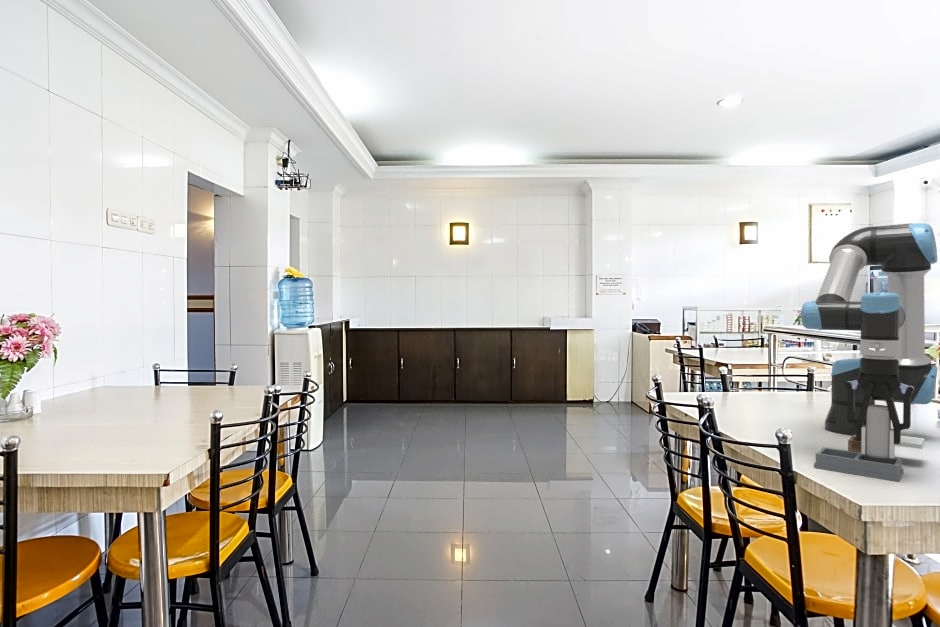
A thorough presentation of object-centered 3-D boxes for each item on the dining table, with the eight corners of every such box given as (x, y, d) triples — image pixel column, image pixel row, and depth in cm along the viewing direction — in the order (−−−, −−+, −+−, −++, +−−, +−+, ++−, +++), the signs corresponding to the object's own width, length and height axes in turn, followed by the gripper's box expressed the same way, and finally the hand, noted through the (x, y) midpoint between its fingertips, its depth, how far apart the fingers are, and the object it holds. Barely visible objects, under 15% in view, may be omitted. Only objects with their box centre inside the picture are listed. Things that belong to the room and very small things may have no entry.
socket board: (821, 460, 149) (821, 447, 149) (903, 473, 138) (903, 458, 138) (813, 467, 142) (814, 453, 142) (899, 481, 131) (899, 466, 131)
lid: (880, 436, 155) (880, 424, 155) (924, 442, 149) (924, 429, 149) (875, 442, 148) (875, 429, 148) (921, 448, 142) (922, 435, 142)
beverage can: (861, 454, 139) (861, 405, 139) (873, 452, 141) (874, 403, 140) (882, 459, 134) (882, 408, 134) (895, 457, 136) (895, 407, 136)
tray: (853, 450, 159) (853, 434, 159) (893, 456, 153) (894, 439, 153) (847, 457, 152) (848, 440, 152) (889, 463, 147) (889, 445, 146)
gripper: (832, 356, 140) (831, 451, 141) (925, 361, 128) (924, 465, 129) (838, 354, 146) (837, 446, 146) (927, 358, 134) (926, 458, 134)
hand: (877, 455), depth 137 cm, fingers closed on beverage can, 5 cm apart
